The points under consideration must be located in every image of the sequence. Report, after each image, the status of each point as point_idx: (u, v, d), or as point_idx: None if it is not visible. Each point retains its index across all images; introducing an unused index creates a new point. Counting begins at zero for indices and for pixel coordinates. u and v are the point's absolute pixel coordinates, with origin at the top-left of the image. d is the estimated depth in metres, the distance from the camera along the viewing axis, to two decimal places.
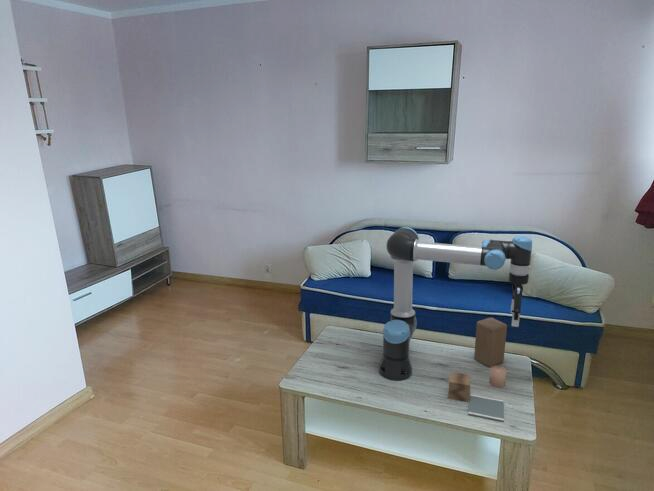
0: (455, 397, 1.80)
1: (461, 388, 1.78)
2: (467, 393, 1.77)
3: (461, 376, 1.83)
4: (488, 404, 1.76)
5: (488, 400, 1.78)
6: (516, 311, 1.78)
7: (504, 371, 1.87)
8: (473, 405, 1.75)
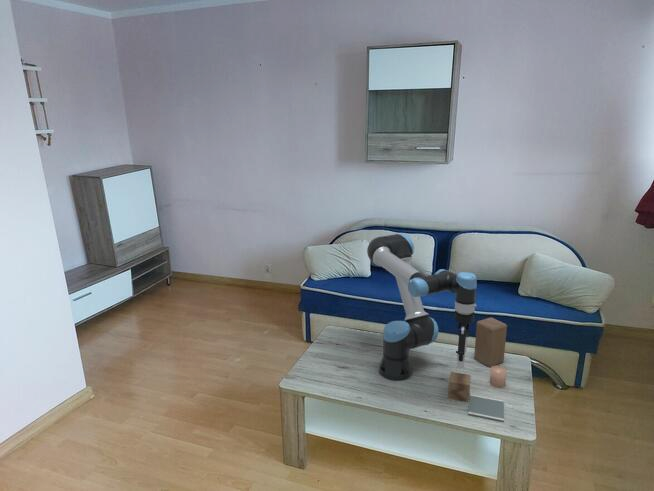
0: (455, 397, 1.80)
1: (461, 388, 1.78)
2: (467, 393, 1.77)
3: (461, 376, 1.83)
4: (488, 404, 1.76)
5: (488, 400, 1.78)
6: (460, 352, 1.68)
7: (504, 371, 1.87)
8: (473, 405, 1.75)
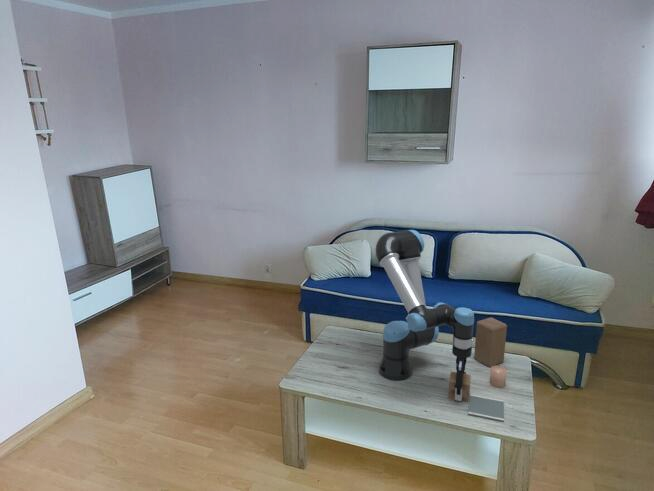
0: None
1: None
2: (467, 393, 1.77)
3: None
4: (488, 404, 1.76)
5: (488, 400, 1.78)
6: (457, 387, 1.74)
7: (504, 371, 1.87)
8: (473, 405, 1.75)
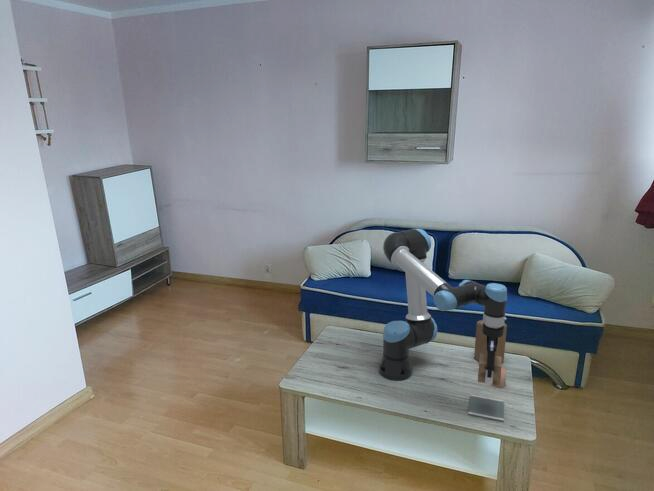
0: None
1: None
2: (499, 375, 1.64)
3: None
4: (488, 404, 1.76)
5: (488, 400, 1.78)
6: (489, 369, 1.61)
7: (504, 371, 1.87)
8: (473, 405, 1.75)
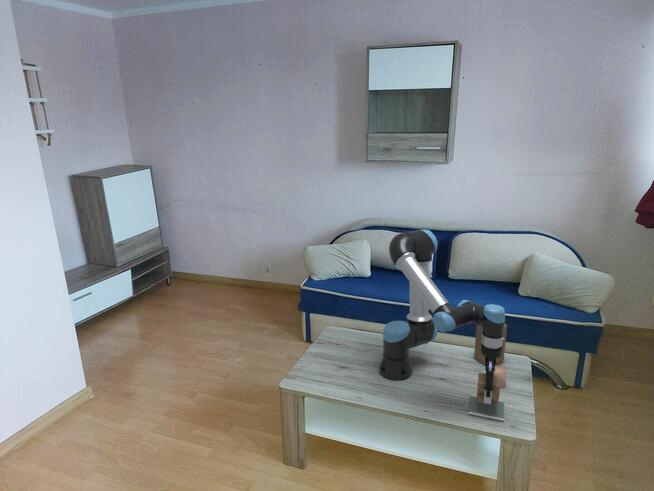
0: None
1: None
2: (497, 395, 1.67)
3: None
4: (488, 404, 1.76)
5: None
6: (487, 389, 1.64)
7: (504, 371, 1.87)
8: (473, 405, 1.75)
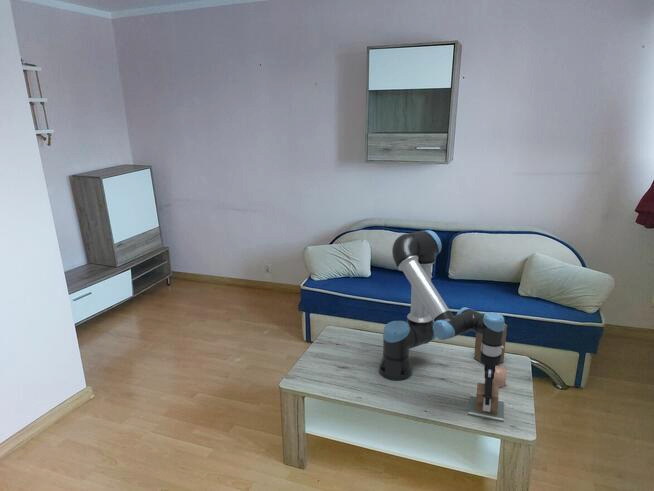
0: None
1: None
2: (496, 406, 1.68)
3: None
4: None
5: None
6: (487, 397, 1.62)
7: (504, 371, 1.87)
8: (473, 405, 1.75)
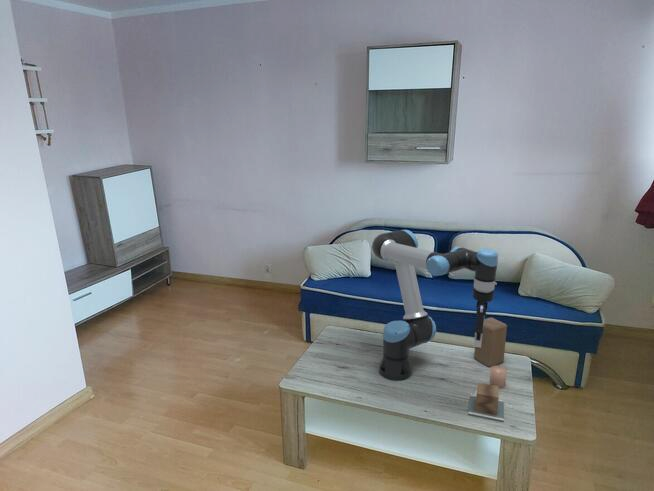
0: (483, 410, 1.70)
1: (489, 400, 1.68)
2: (496, 406, 1.68)
3: (489, 387, 1.73)
4: None
5: None
6: (478, 331, 1.63)
7: (504, 371, 1.87)
8: (473, 405, 1.75)
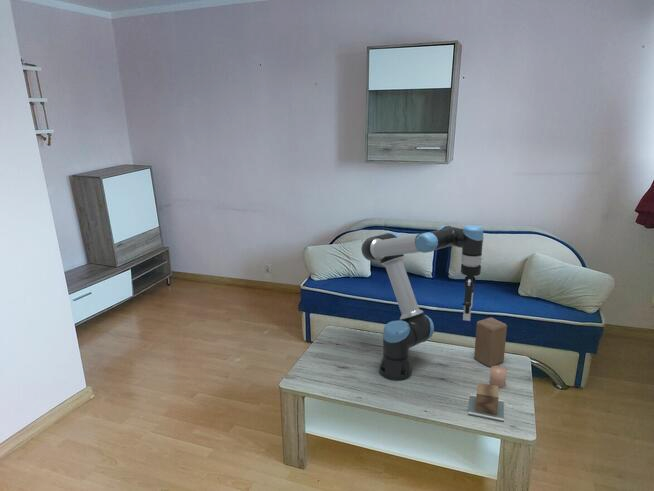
0: (483, 410, 1.70)
1: (489, 400, 1.68)
2: (496, 406, 1.68)
3: (489, 387, 1.73)
4: None
5: None
6: (466, 304, 1.68)
7: (504, 371, 1.87)
8: (473, 405, 1.75)
